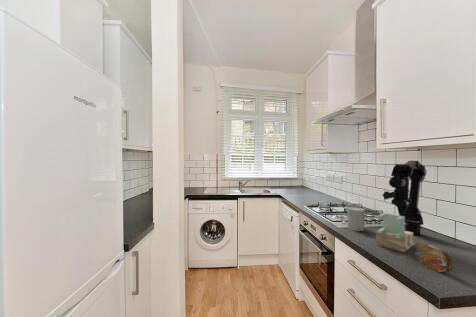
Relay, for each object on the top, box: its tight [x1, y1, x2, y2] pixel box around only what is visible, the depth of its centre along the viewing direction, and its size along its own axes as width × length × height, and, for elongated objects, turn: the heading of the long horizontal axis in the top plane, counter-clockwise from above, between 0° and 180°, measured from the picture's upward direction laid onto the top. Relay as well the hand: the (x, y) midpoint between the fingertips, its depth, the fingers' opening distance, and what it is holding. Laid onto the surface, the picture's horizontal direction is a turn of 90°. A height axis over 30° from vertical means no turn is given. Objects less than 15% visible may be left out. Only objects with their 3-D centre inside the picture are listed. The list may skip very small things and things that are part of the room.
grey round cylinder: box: [346, 206, 366, 232], centre depth 141 cm, size 10×10×12 cm
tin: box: [412, 242, 453, 273], centre depth 92 cm, size 15×3×8 cm, turn 4°
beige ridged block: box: [375, 230, 414, 253], centre depth 115 cm, size 14×12×6 cm
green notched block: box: [377, 212, 405, 238], centre depth 112 cm, size 8×9×9 cm
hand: (400, 217), depth 120 cm, fingers closed
